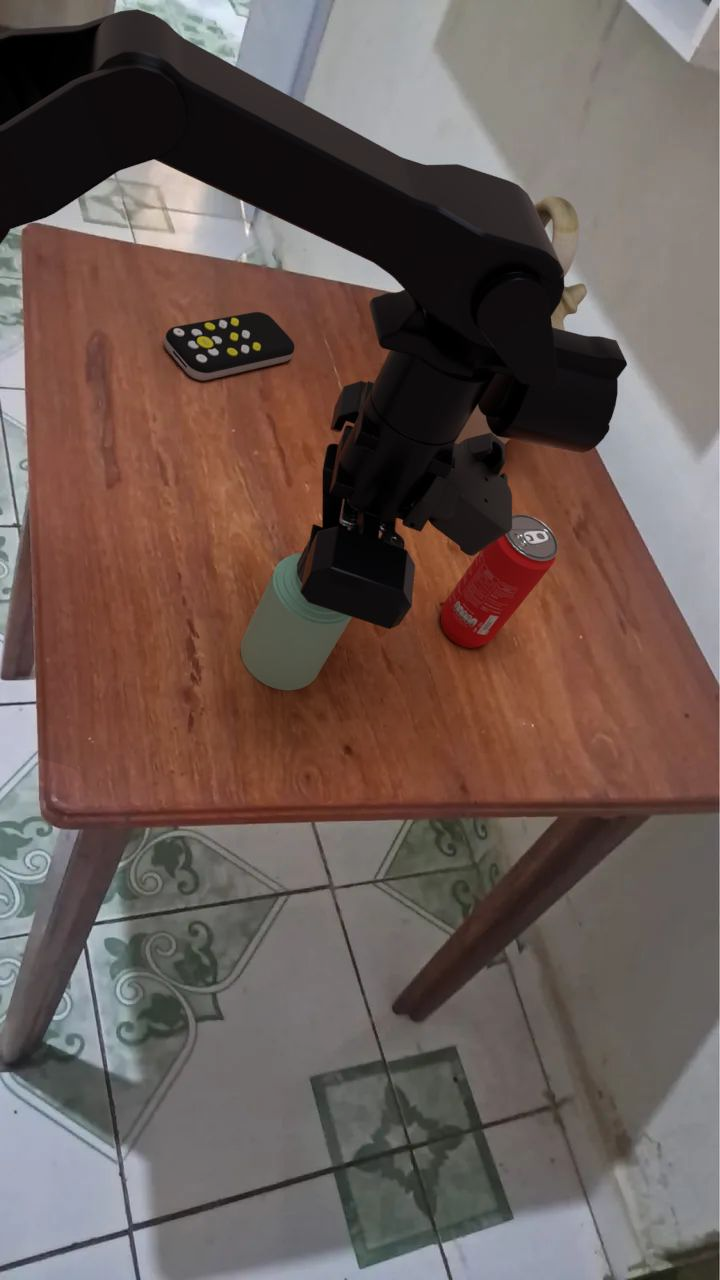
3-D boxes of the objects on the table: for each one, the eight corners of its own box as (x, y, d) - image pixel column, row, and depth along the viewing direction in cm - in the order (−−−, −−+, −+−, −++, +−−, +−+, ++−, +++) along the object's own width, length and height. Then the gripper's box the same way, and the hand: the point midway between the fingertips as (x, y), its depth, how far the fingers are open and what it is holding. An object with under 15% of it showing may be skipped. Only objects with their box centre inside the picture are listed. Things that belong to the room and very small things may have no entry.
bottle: (227, 665, 71) (274, 565, 62) (258, 609, 75) (306, 507, 66) (304, 704, 71) (361, 609, 63) (330, 645, 76) (387, 549, 67)
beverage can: (426, 608, 82) (489, 514, 73) (472, 599, 85) (539, 508, 76) (454, 656, 80) (523, 566, 71) (500, 646, 83) (573, 558, 74)
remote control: (296, 362, 96) (302, 346, 94) (193, 386, 88) (198, 369, 86) (260, 322, 97) (266, 306, 96) (156, 342, 90) (161, 324, 88)
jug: (372, 447, 92) (491, 215, 74) (379, 353, 102) (486, 127, 84) (513, 495, 96) (660, 286, 78) (507, 401, 106) (636, 194, 87)
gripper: (545, 570, 51) (424, 720, 62) (537, 366, 62) (437, 524, 74) (350, 500, 48) (262, 670, 60) (380, 302, 60) (302, 476, 71)
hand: (325, 578), depth 66 cm, fingers closed on cap, 4 cm apart
